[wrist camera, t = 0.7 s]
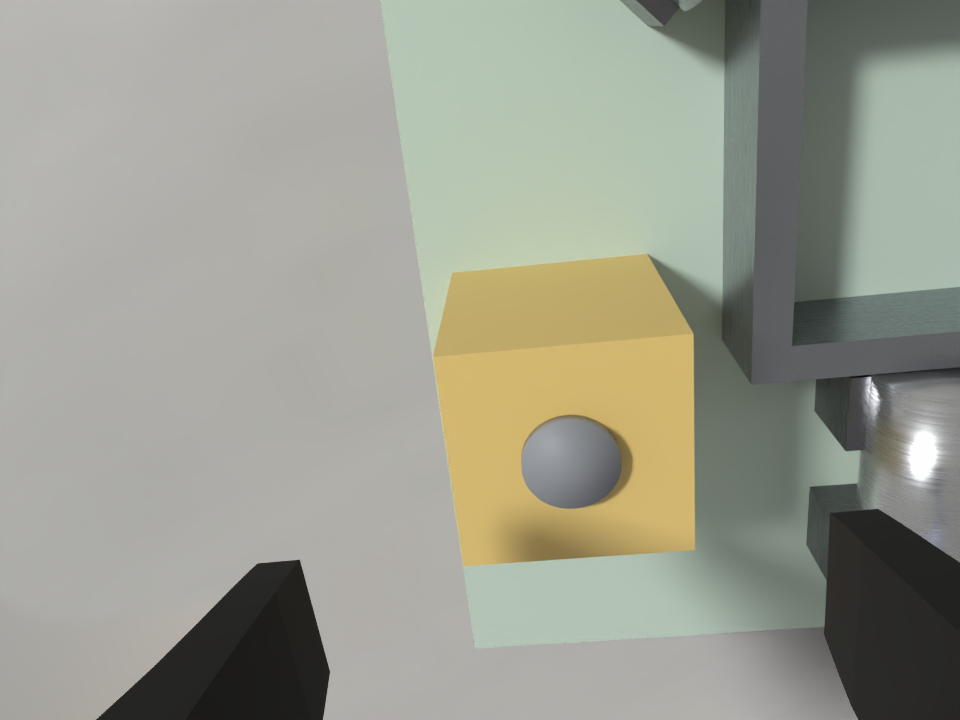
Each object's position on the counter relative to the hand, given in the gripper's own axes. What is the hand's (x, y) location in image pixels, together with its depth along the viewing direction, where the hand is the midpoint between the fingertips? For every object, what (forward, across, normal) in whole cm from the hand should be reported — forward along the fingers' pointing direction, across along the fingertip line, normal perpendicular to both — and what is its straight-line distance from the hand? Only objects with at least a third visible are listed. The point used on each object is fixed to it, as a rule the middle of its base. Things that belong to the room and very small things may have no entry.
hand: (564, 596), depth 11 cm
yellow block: (+9, 0, 0) cm, 9 cm away
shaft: (+9, -8, +4) cm, 13 cm away
